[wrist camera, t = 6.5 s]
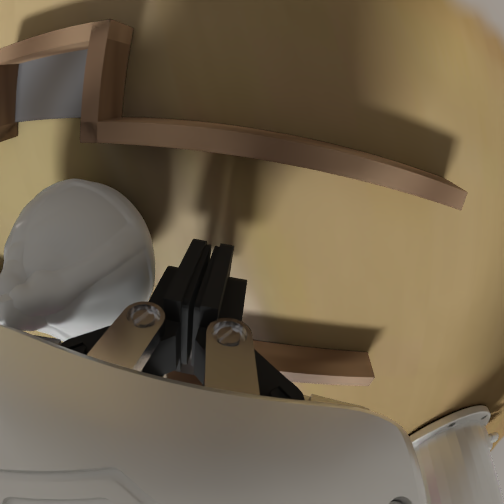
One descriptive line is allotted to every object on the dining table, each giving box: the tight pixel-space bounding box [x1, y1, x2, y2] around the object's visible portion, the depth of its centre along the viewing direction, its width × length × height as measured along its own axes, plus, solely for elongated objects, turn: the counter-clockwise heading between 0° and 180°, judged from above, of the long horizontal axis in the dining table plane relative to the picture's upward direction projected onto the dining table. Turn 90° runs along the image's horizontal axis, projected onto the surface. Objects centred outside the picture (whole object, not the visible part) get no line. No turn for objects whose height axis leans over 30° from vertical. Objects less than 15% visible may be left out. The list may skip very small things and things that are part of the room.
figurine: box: [0, 179, 155, 341], centre depth 10 cm, size 6×7×8 cm
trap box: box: [0, 19, 468, 386], centre depth 12 cm, size 28×20×4 cm
